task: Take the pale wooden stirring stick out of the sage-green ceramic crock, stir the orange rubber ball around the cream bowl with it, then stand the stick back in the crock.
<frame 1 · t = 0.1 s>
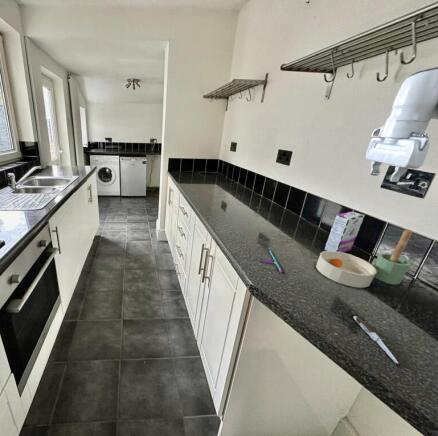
hand: (382, 178, 74), 34 cm above the table, tool pointing down, fingers open, 8 cm apart
holder: (384, 278, 80), on the table
bowl: (341, 275, 81), on the table
candy bar box: (336, 250, 98), on the table
stirring stick: (384, 277, 80), point 1 cm above the table, touching holder
pocket knife: (372, 340, 57), on the table
ball: (336, 262, 84), point 2 cm above the table, touching bowl
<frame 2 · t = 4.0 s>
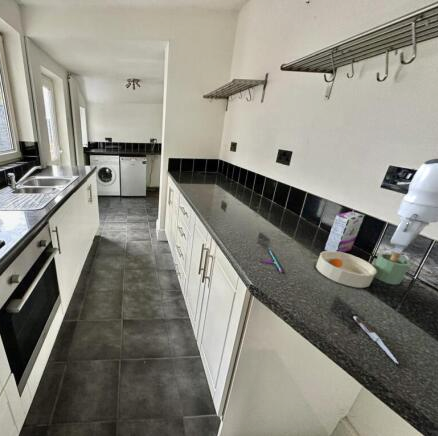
hand: (398, 251, 76), 11 cm above the table, tool pointing down, fingers closed on stirring stick, 2 cm apart
stirring stick: (384, 277, 80), point 1 cm above the table, touching gripper, holder
everything else where it was.
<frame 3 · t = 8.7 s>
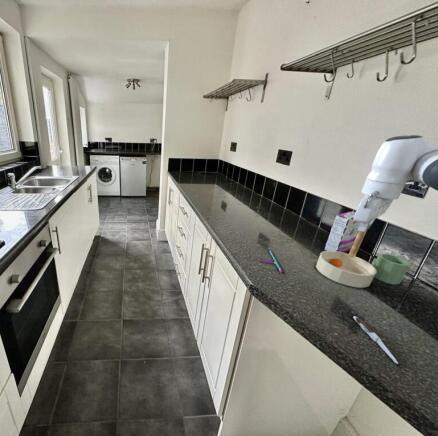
hand: (363, 229, 78), 17 cm above the table, tool pointing down, fingers closed on stirring stick
stirring stick: (351, 256, 82), point 6 cm above the table, touching gripper
everything else where it was.
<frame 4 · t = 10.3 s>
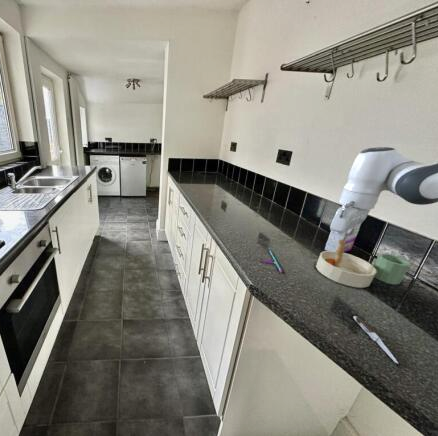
hand: (342, 238, 79), 13 cm above the table, tool pointing down, fingers closed on stirring stick, 2 cm apart
stirring stick: (337, 266, 82), point 3 cm above the table, tilted 8°, touching gripper
ball: (331, 262, 84), point 2 cm above the table, tilted 60°, touching bowl
everything else where it was.
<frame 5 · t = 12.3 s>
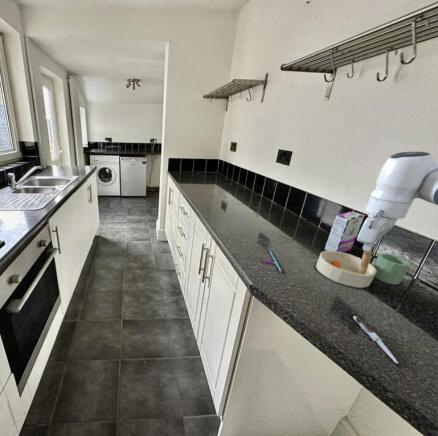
hand: (367, 248, 74), 13 cm above the table, tool pointing down, fingers closed on stirring stick, 2 cm apart
stirring stick: (361, 278, 77), point 2 cm above the table, tilted 7°, touching gripper
ball: (335, 265, 83), point 2 cm above the table, tilted 64°, touching bowl
everything else where it was.
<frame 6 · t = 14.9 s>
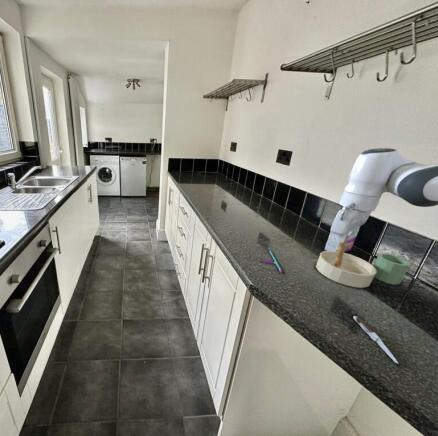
hand: (342, 240, 78), 13 cm above the table, tool pointing down, fingers closed on stirring stick, 2 cm apart
stirring stick: (336, 268, 81), point 2 cm above the table, tilted 7°, touching ball, gripper
ball: (330, 268, 81), point 2 cm above the table, tilted 146°, touching bowl, stirring stick
everything else where it was.
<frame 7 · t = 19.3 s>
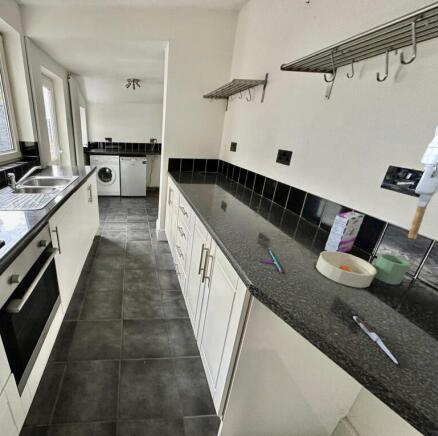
hand: (421, 205, 70), 27 cm above the table, tool pointing down, fingers closed on stirring stick
stirring stick: (411, 238, 73), point 17 cm above the table, tilted 6°, touching gripper
ball: (344, 270, 80), point 2 cm above the table, tilted 53°, touching bowl
everything else where it was.
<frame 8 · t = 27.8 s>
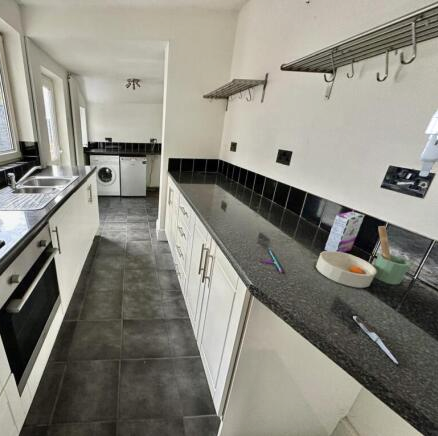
hand: (426, 174, 74), 35 cm above the table, tool pointing down, fingers open, 8 cm apart
stirring stick: (390, 278, 79), point 1 cm above the table, tilted 25°, touching holder
ball: (355, 270, 80), point 2 cm above the table, tilted 93°, touching bowl
everything else where it was.
at the end: ball moved 5.6 cm from its start; ball inside the target area in the bowl (3.8 cm from its centre), point 2.4 cm above the bowl's base; stirring stick 1.2 cm off-centre in the holder, point 1.0 cm above the holder's base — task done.
